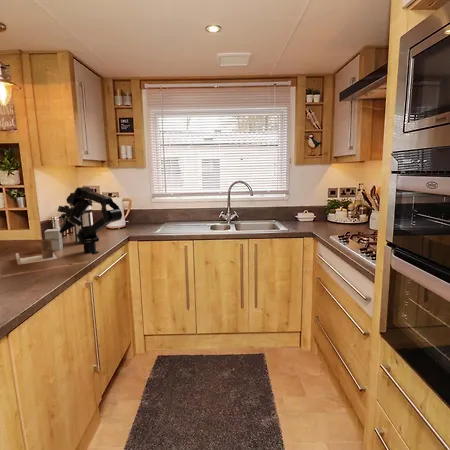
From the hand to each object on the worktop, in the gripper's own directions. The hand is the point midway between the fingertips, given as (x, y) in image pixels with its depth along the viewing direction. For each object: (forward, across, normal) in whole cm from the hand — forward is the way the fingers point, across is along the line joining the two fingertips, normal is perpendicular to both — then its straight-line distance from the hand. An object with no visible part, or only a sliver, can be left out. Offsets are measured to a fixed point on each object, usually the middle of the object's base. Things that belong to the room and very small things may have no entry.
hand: (60, 232), depth 168 cm
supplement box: (+10, -18, +10) cm, 23 cm away
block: (+14, -2, +3) cm, 14 cm away
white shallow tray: (+18, -2, 0) cm, 18 cm away
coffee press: (-4, -30, +24) cm, 39 cm away
